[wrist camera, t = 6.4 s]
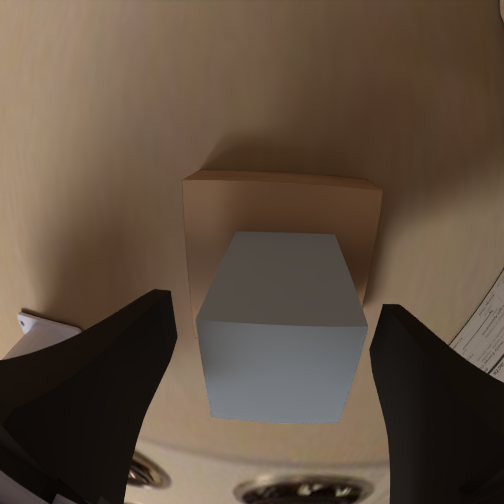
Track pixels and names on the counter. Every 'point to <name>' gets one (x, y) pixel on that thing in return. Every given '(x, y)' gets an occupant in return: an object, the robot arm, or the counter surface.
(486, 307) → the light bulb box
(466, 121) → the counter surface
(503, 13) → the white cup
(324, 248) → the slate-blue block
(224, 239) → the tan flat block
